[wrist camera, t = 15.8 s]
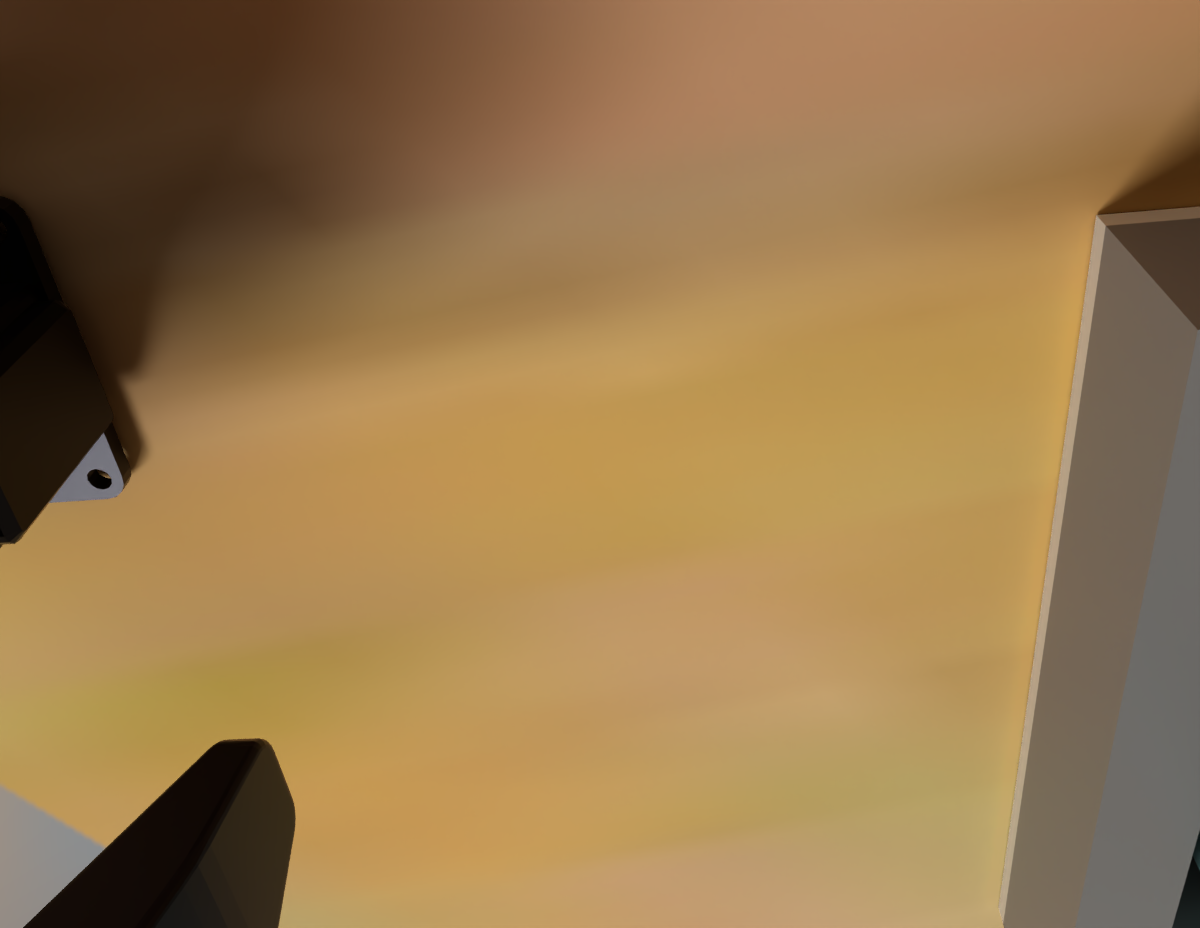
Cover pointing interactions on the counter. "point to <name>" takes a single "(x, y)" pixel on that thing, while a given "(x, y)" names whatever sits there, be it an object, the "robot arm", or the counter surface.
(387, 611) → the counter surface
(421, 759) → the counter surface
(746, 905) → the counter surface
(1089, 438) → the socket block
